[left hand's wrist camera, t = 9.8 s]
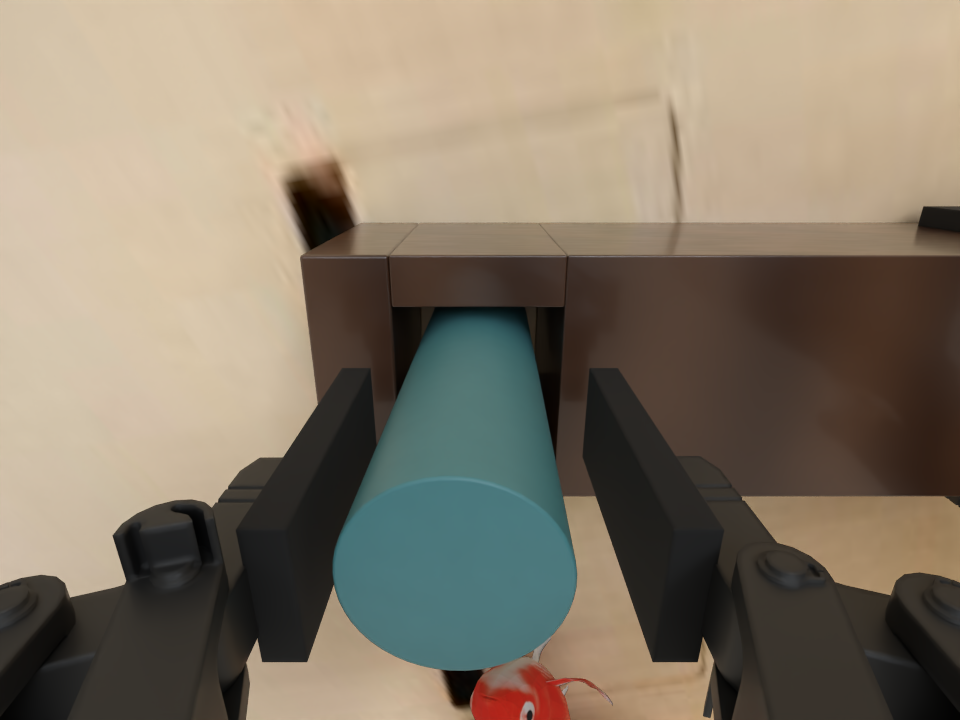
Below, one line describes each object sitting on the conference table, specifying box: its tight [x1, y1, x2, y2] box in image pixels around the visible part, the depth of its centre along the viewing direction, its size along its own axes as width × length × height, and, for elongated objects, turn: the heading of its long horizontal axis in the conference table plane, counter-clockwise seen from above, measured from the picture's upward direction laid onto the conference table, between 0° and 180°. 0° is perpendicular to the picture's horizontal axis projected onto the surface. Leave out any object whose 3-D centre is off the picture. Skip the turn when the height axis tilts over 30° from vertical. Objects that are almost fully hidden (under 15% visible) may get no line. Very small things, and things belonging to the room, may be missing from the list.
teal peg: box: [332, 307, 577, 671], centre depth 16 cm, size 4×4×15 cm
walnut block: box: [300, 223, 960, 496], centre depth 20 cm, size 28×8×8 cm, turn 90°
